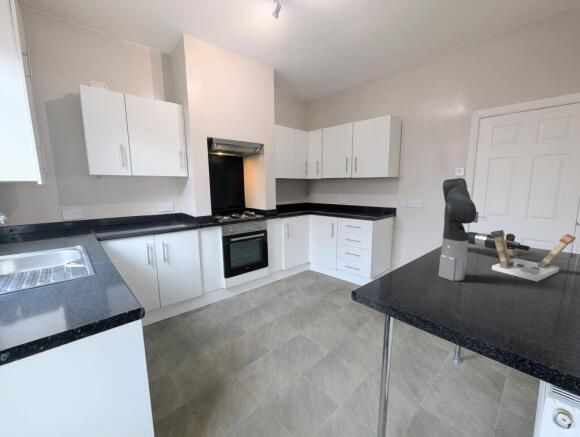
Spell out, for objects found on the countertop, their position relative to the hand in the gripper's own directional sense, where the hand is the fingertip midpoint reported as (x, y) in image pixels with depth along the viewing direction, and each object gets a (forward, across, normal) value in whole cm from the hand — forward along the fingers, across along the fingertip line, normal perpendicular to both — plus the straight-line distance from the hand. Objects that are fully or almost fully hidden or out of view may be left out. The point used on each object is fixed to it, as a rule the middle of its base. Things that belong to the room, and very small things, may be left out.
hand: (529, 248), depth 119 cm
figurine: (-14, +18, +9) cm, 25 cm away
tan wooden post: (-2, -16, +6) cm, 17 cm away
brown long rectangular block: (+6, 0, +6) cm, 8 cm away
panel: (+2, -8, +9) cm, 12 cm away
